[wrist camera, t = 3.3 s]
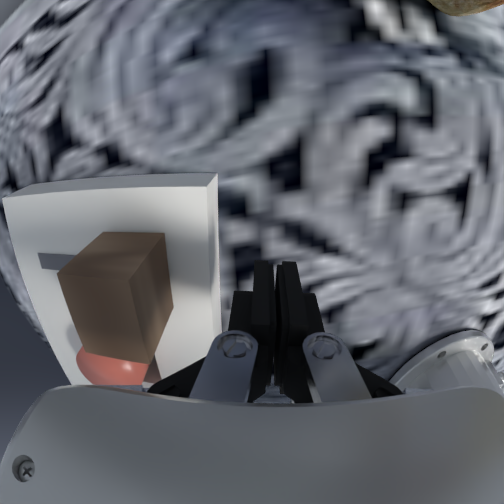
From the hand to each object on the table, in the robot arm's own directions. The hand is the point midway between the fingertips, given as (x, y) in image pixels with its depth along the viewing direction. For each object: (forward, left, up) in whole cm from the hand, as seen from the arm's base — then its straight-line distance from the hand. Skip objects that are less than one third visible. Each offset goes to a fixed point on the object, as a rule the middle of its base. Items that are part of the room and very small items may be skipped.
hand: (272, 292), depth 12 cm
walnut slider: (+6, 0, -2) cm, 7 cm away
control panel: (+9, +7, -5) cm, 12 cm away
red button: (+9, +7, -2) cm, 12 cm away
